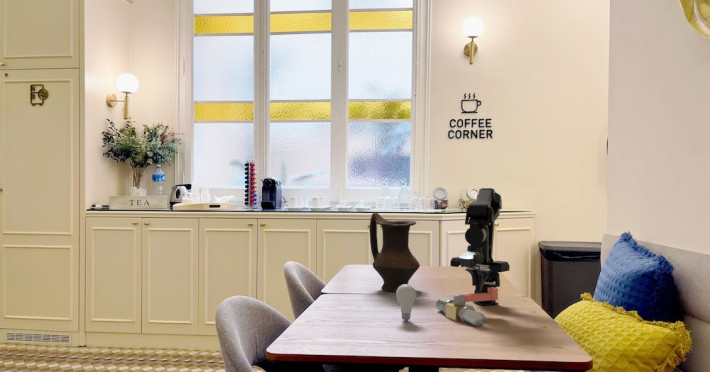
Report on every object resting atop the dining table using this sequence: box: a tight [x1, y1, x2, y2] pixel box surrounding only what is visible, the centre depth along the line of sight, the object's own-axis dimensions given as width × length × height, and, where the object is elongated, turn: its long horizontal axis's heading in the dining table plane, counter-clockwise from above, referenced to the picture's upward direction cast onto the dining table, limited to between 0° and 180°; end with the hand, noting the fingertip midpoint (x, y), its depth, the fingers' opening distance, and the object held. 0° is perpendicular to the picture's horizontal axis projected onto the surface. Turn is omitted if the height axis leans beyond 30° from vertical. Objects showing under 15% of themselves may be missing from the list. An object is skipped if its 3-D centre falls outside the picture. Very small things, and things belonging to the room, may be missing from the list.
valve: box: [435, 297, 486, 327], centre depth 170 cm, size 6×22×5 cm, turn 20°
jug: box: [369, 212, 421, 293], centre depth 219 cm, size 21×18×30 cm
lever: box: [452, 287, 499, 305], centre depth 172 cm, size 15×4×4 cm, turn 110°
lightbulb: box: [395, 283, 417, 322], centre depth 166 cm, size 6×6×11 cm
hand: (479, 291), depth 178 cm, fingers closed
